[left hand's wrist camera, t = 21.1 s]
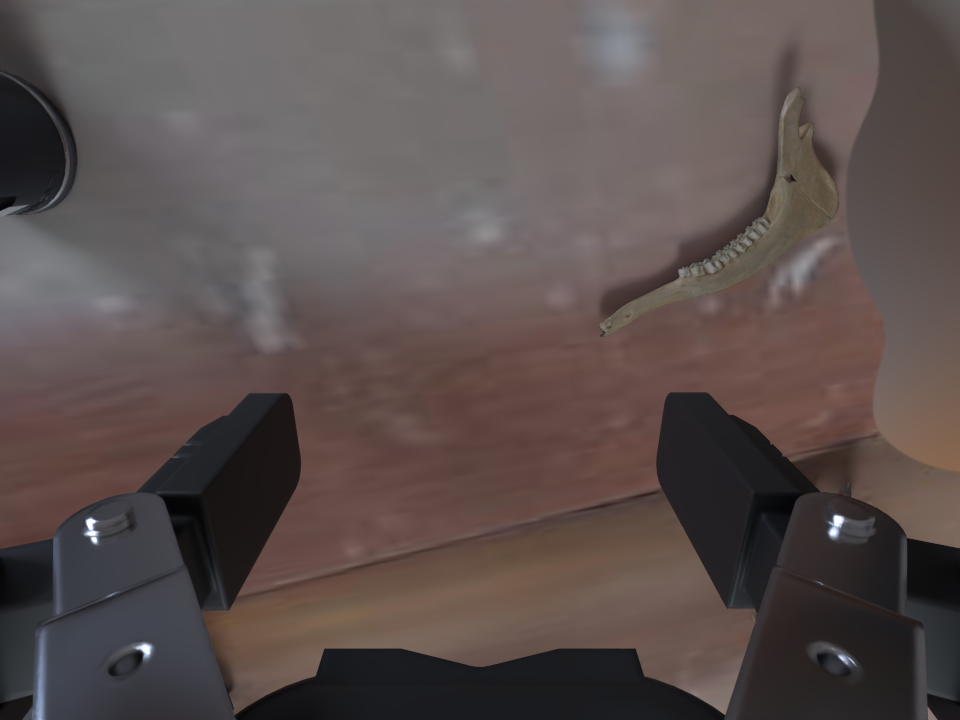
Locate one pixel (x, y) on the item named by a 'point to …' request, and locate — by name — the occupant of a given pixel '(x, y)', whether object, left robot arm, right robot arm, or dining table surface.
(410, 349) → the dining table surface
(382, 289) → the dining table surface
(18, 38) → the dining table surface
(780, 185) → the jawbone
